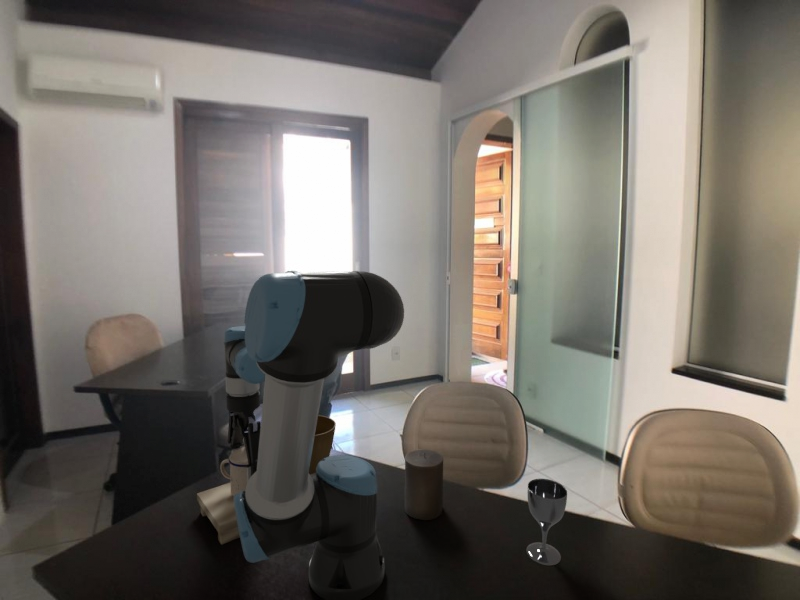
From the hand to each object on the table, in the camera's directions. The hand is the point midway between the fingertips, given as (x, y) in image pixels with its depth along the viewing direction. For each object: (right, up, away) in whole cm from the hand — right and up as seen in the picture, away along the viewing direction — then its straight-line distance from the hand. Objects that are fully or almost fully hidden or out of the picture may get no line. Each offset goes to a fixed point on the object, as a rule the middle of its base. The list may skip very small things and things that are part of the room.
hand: (245, 481), depth 104 cm
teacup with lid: (-1, -2, +1) cm, 3 cm away
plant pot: (+12, -7, +18) cm, 22 cm away
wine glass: (+69, -11, -11) cm, 70 cm away
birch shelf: (0, -8, +1) cm, 8 cm away
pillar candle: (+43, -9, +4) cm, 44 cm away
